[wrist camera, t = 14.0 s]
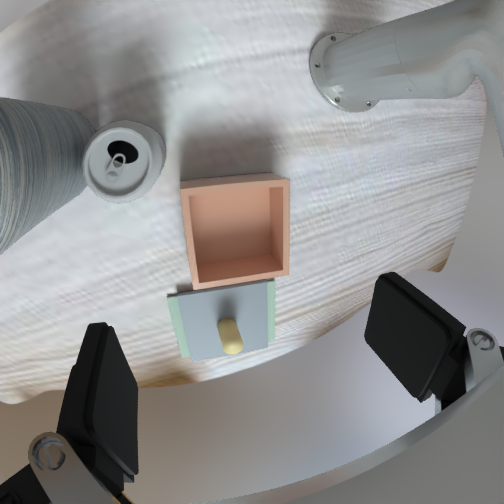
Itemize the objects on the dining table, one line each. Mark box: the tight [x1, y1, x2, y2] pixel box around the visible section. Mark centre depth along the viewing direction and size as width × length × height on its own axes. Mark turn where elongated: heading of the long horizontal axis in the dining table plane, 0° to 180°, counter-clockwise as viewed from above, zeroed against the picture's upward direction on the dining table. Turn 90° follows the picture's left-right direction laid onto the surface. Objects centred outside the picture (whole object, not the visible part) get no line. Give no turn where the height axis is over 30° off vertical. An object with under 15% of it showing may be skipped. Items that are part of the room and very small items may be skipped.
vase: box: [0, 97, 95, 255], centre depth 18 cm, size 12×12×23 cm
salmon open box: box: [180, 172, 290, 290], centre depth 34 cm, size 12×12×6 cm
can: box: [82, 120, 166, 204], centre depth 25 cm, size 8×8×12 cm
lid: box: [177, 280, 268, 361], centre depth 40 cm, size 13×13×6 cm
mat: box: [167, 280, 275, 358], centre depth 43 cm, size 16×12×1 cm
